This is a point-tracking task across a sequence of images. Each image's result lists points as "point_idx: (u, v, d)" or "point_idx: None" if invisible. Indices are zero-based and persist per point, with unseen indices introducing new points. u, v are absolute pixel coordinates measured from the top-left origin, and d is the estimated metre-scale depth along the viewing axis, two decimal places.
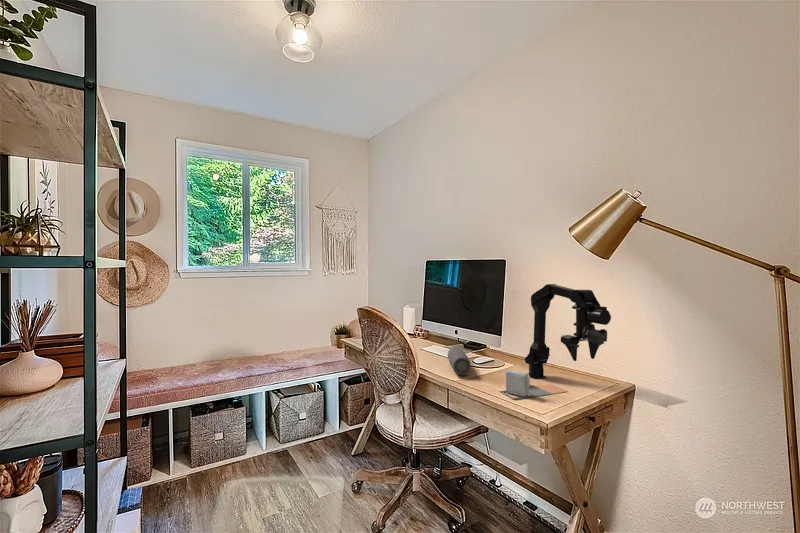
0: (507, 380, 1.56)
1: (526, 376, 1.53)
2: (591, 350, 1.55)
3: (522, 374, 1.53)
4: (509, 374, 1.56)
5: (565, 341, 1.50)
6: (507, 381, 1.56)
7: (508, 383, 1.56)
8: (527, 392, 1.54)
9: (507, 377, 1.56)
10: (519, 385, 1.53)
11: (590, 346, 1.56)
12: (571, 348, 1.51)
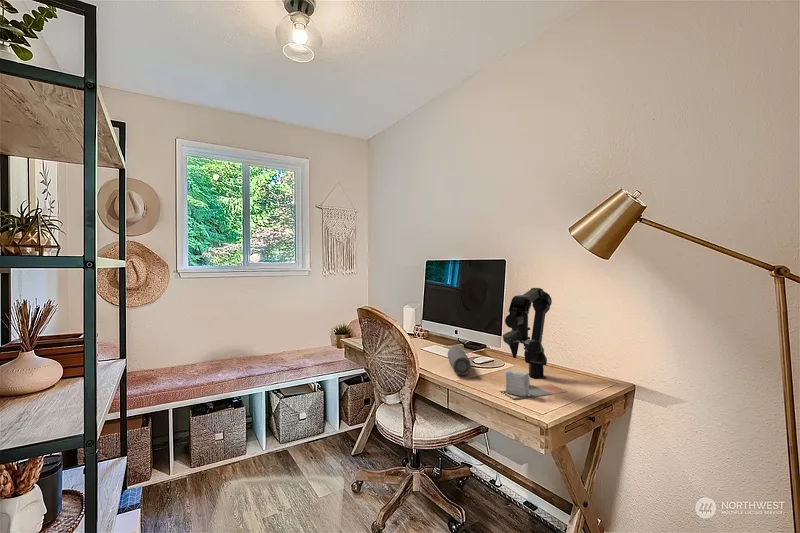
0: (507, 380, 1.56)
1: (526, 376, 1.53)
2: None
3: (522, 374, 1.53)
4: (509, 374, 1.56)
5: None
6: (507, 381, 1.56)
7: (508, 383, 1.56)
8: (527, 392, 1.54)
9: (507, 377, 1.56)
10: (519, 385, 1.53)
11: None
12: None
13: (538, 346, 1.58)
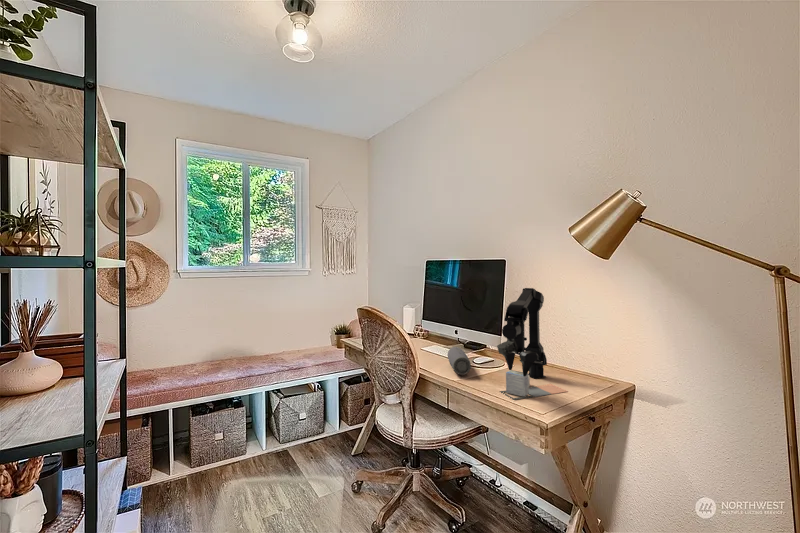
0: (507, 380, 1.56)
1: (526, 376, 1.53)
2: None
3: (522, 374, 1.53)
4: (509, 374, 1.56)
5: None
6: (507, 381, 1.56)
7: (508, 383, 1.56)
8: (527, 392, 1.54)
9: (507, 377, 1.56)
10: (519, 385, 1.53)
11: None
12: None
13: (535, 358, 1.47)
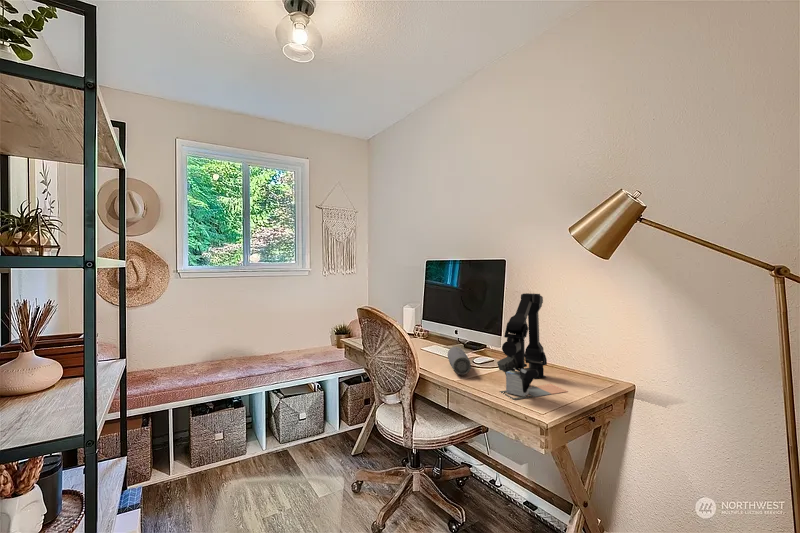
0: (507, 380, 1.56)
1: None
2: None
3: None
4: (509, 374, 1.56)
5: None
6: (507, 381, 1.56)
7: (508, 383, 1.56)
8: (527, 392, 1.54)
9: (507, 377, 1.56)
10: (519, 385, 1.53)
11: None
12: None
13: (535, 375, 1.47)
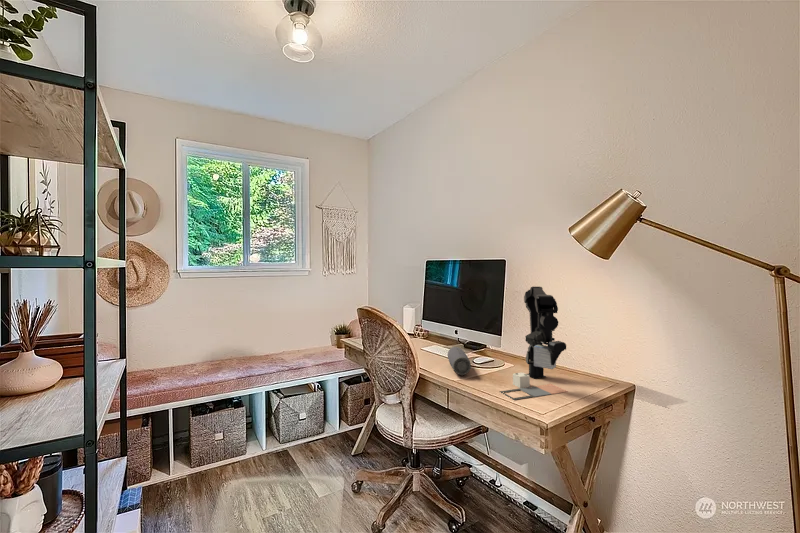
0: (535, 354, 1.61)
1: None
2: None
3: None
4: (537, 348, 1.60)
5: None
6: (535, 355, 1.61)
7: (536, 357, 1.61)
8: (555, 365, 1.59)
9: (535, 351, 1.61)
10: (547, 358, 1.58)
11: None
12: None
13: (563, 348, 1.52)
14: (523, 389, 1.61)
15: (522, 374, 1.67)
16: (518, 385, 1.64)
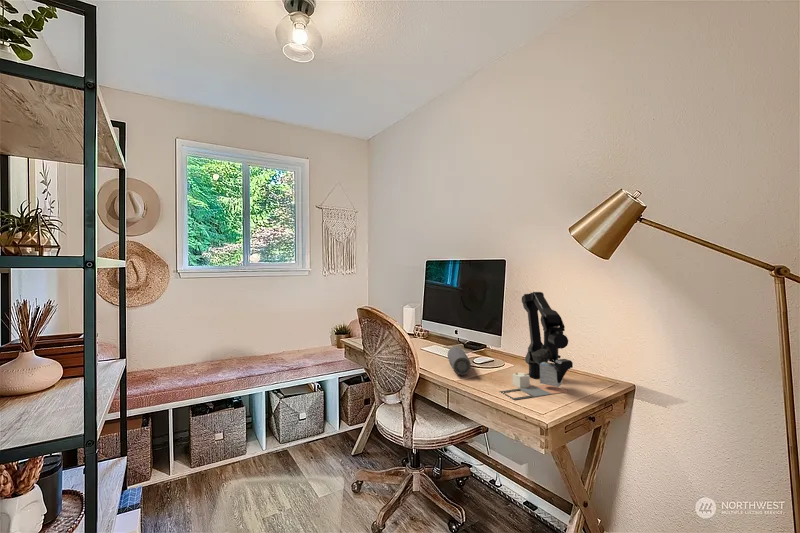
0: (541, 371, 1.62)
1: None
2: None
3: None
4: (543, 365, 1.62)
5: None
6: (541, 372, 1.62)
7: (542, 374, 1.62)
8: (561, 382, 1.60)
9: (541, 368, 1.62)
10: (554, 376, 1.59)
11: None
12: None
13: (570, 366, 1.53)
14: (523, 389, 1.61)
15: (522, 374, 1.67)
16: (518, 385, 1.64)
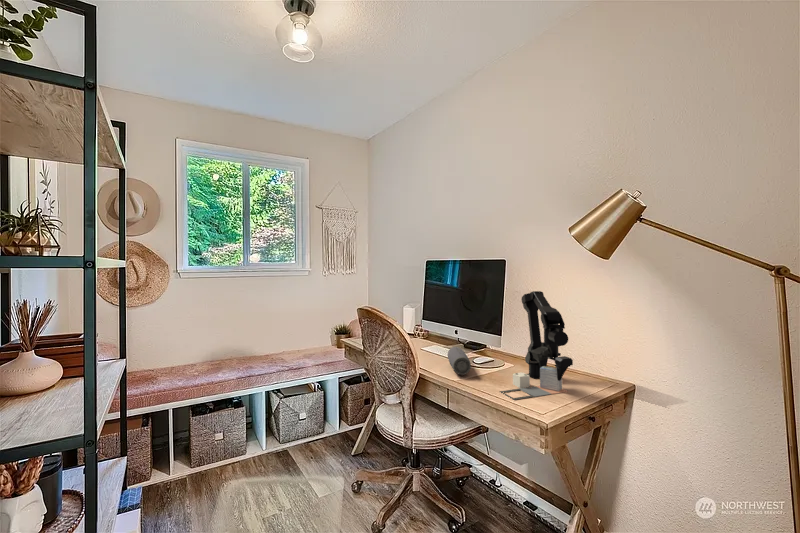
0: (541, 375, 1.62)
1: None
2: None
3: (556, 370, 1.59)
4: (543, 369, 1.62)
5: None
6: (541, 376, 1.62)
7: (542, 378, 1.62)
8: (561, 387, 1.60)
9: (541, 372, 1.62)
10: (554, 380, 1.59)
11: None
12: None
13: (570, 363, 1.53)
14: (523, 389, 1.61)
15: (522, 374, 1.67)
16: (518, 385, 1.64)
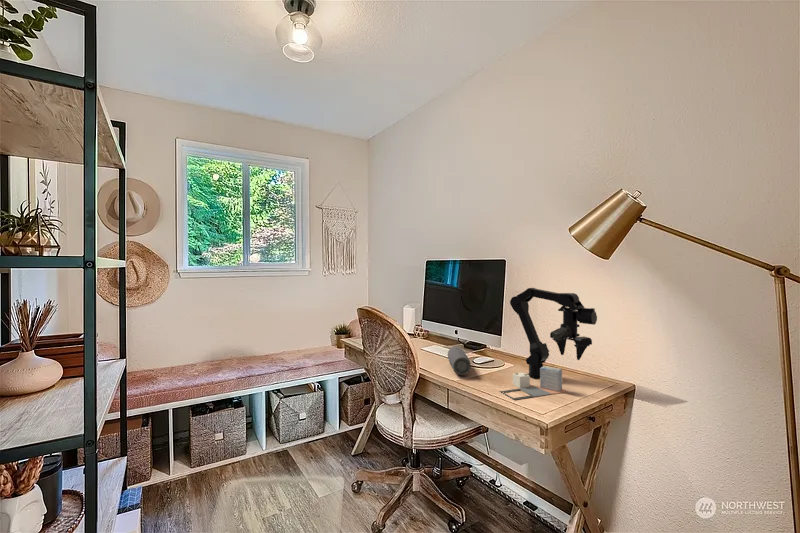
0: (541, 375, 1.62)
1: (560, 372, 1.59)
2: None
3: (556, 370, 1.59)
4: (543, 370, 1.62)
5: None
6: (541, 376, 1.62)
7: (542, 378, 1.62)
8: (561, 387, 1.60)
9: (541, 373, 1.62)
10: (554, 380, 1.59)
11: None
12: None
13: (589, 343, 1.59)
14: (523, 389, 1.61)
15: (522, 374, 1.67)
16: (518, 385, 1.64)
